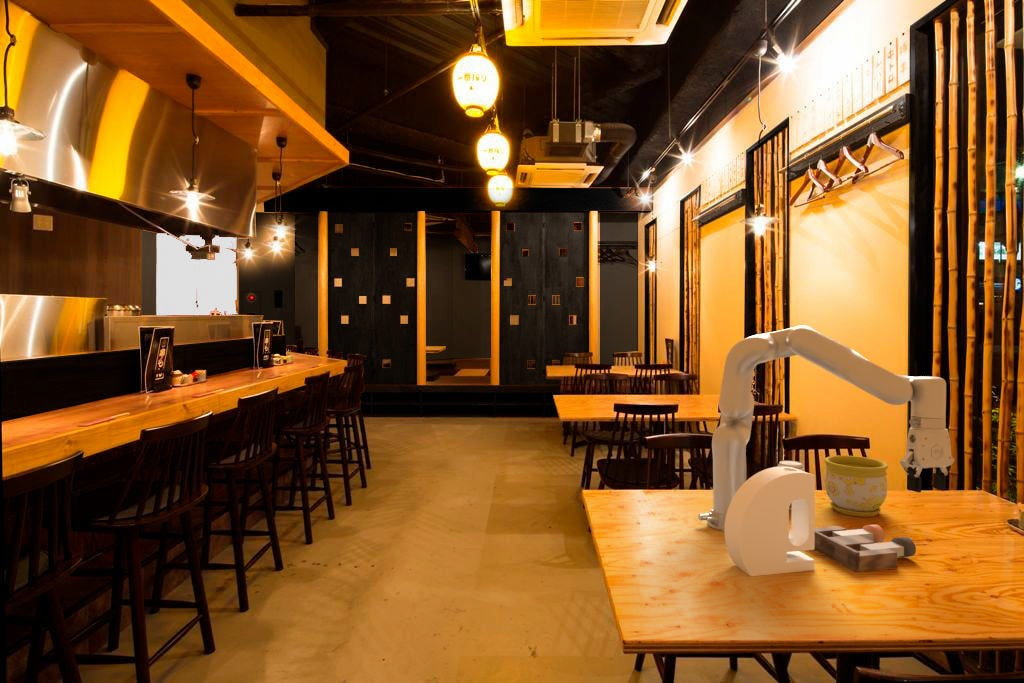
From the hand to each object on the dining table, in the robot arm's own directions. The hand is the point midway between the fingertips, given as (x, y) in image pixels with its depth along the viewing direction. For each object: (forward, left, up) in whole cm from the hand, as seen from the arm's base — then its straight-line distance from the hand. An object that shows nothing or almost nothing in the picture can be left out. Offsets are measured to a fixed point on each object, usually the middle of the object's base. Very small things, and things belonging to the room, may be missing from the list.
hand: (927, 489), depth 156 cm
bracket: (-45, +2, -18) cm, 49 cm away
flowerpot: (+10, +36, -18) cm, 41 cm away
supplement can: (-8, +44, -18) cm, 48 cm away
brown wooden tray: (-20, +5, -18) cm, 27 cm away
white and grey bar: (-12, 0, -17) cm, 21 cm away
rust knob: (-12, +10, -17) cm, 23 cm away
